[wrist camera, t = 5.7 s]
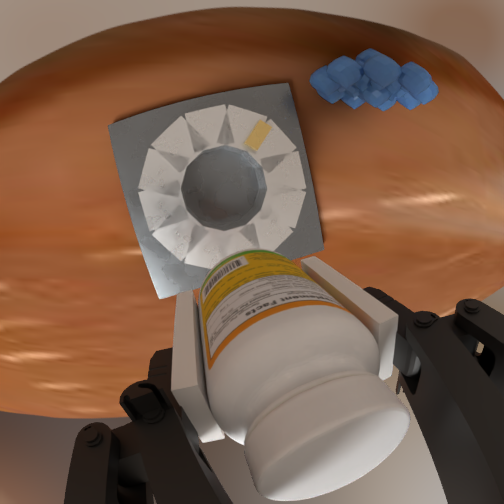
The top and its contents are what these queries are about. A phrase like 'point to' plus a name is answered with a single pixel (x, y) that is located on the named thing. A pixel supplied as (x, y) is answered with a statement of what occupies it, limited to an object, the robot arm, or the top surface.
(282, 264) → the supplement bottle
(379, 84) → the grapes
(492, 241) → the top surface
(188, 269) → the hub plate
